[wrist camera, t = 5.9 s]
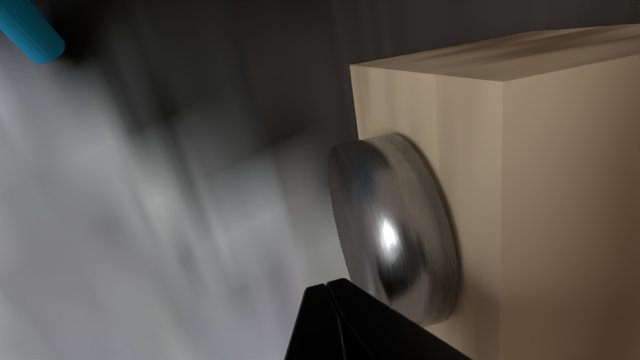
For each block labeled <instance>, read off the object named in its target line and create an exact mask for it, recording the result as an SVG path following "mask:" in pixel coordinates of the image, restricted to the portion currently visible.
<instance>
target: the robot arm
mask: <svg viewBox="0 0 640 360" xmlns="http://www.w3.org/2000/svg"><path fill="white" fill-rule="evenodd" d="M284 360H473V359H471V358H470V357H468V356H467V355H465V354H463V353H462V352H460V351H459V350H457V349H456V348H454V347H452V346H451V345H449V344H448V343H446V342H445V341H443V340H441V339H440V338H438V337H437V336H435V335H434V334H432V333H430V332H429V331H427V330H426V329H424V328H423V327H421V326H420V325H418V324H416V323H415V322H413V321H412V320H410V319H409V318H407V317H405V316H404V315H402V314H401V313H399V312H398V311H396V310H394V309H393V308H391V307H390V306H388V305H387V304H385V303H383V302H382V301H380V300H379V299H377V298H376V297H374V296H372V295H371V294H369V293H368V292H366V291H365V290H363V289H362V288H360V287H358V286H357V285H355V284H354V283H352V282H351V281H349V280H347V279H346V278H340V279H337V280H333V281H329V282H327V283H326V285H325V284H318V285H314V286H310V287H307V288H306V289H305V291H304V295H303V298H302V302H301V305H300V308H299V312H298V315H297V318H296V322H295V325H294V328H293V332H292V335H291V339H290V342H289V345H288V349H287V352H286V355H285V359H284Z"/></svg>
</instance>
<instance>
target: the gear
mask: <svg viewBox="0 0 640 360" xmlns="http://www.w3.org/2000/svg"><path fill="white" fill-rule="evenodd" d="M0 30H1V31H2V32H3V33H4V34H5V35H6V36H7V37H8V38H9V39H10V40H11V41H12V42H13V43H14V44H15V45H16V46H17V47H18V48H19V49H20V50H21V51H22V52H23V53H24V54H25V55H26V56H27V57H28V58H29V59H30V60H32V61H33V62H36V63H47V62H50V61H53V60H55V59H56V58H58V57H59V56H60V55H61V54H62V53H63V51H64V49H65V43H64V41H63V40H62V38H61V37H60V36H59V35H58V34H57V32H56V31H55V30H54V29H53V28H52V26H51V25H50V24H49V23H48V22H47V20H46V19H45V18H44V17H43V16H42V14H41V13H40V12H39V11H38V10H37V8H36V7H35V6H34V5H33V4H32V2H31V1H30V0H0Z"/></svg>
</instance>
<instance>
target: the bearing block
mask: <svg viewBox="0 0 640 360" xmlns="http://www.w3.org/2000/svg"><path fill="white" fill-rule="evenodd" d="M350 73H351V81H352V89H353V97H354V105H355V112H356V120H357V128H358V136H359V140H362V139H367V138H372V137H376V136H381V135H386V134H396V135H399V136H400V137H402V138H403V139H405V140H406V141H407V142H408V143H409V144H410V145H411V146H412V147H413V148H414V150H415V151H416V152H417V153H418V155H419V156H420V158H421V159H422V161H423V162H424V164H425V166H426V168H427V170H428V171H429V173H430V175H431V177H432V180H433V182H434V184H435V186H436V188H437V190H438V191H439V192H440V194H441V201H442V204H443V207H444V210H445V213H446V216H447V219H448V223H449V226H450V230H451V234H452V238H453V243H454V248H455V254H456V261H457V272H458V293H457V302H456V305H455V309H454V311H453V313H452V315H451V317H450V318H449V319H448V320H446V321H444V322H441V323H438V324H434V325H431V326H428V327H424V329H426V330H427V331H429V332H430V333H432V334H434V335H435V336H437V337H438V338H440V339H441V340H443V341H445V342H446V343H448V344H449V345H451V346H452V347H454V348H456V349H457V350H459V351H460V352H462V353H463V354H465V355H467V356H468V357H470V358H471V359H473V360H640V24H629V25H615V26H601V27H588V28H574V29H561V30H547V31H534V32H526V33H521V34H516V35H510V36H505V37H499V38H494V39H488V40H483V41H478V42H472V43H467V44H461V45H456V46H450V47H445V48H440V49H434V50H429V51H423V52H418V53H413V54H407V55H402V56H396V57H391V58H385V59H380V60H375V61H369V62H364V63H358V64H353V65H350Z"/></svg>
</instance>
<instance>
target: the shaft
mask: <svg viewBox="0 0 640 360" xmlns="http://www.w3.org/2000/svg"><path fill="white" fill-rule="evenodd" d="M328 176H329V187H330V195H331V201H332V207H333V213H334V218H335V223H336V227H337V232H338V236H339V240H340V244H341V248H342V252H343V255H344V259H345V262H346V266H347V269H348V272H349V275H350V278H351V281H352V283H354V284H355V285H357V286H358V287H360V288H362V289H363V290H365V291H366V292H368V293H369V294H371V295H372V296H374V297H376V298H377V299H379V300H380V301H382V302H383V303H385V304H387V305H388V306H390V307H391V308H393V309H394V310H396V311H398V312H399V313H401V314H402V315H404V316H405V317H407V318H409V319H410V320H412V321H413V322H415V323H416V324H418V325H420V326H421V327H423V328H424V327H428V326H431V325H434V324H438V323H441V322H444V321H446V320H448V319H449V318H450V317H451V315H452V313H453V311H454V309H455V305H456V302H457V293H458V272H457V261H456V254H455V248H454V243H453V238H452V234H451V230H450V226H449V223H448V219H447V216H446V213H445V210H444V207H443V204H442V201H441V194H440V192H439V191H438V190H437V188H436V186H435V184H434V182H433V180H432V177H431V175H430V173H429V171H428V170H427V168H426V166H425V164H424V162H423V161H422V159H421V158H420V156H419V155H418V153H417V152H416V151H415V150H414V148H413V147H412V146H411V145H410V144H409V143H408V142H407V141H406V140H405V139H403V138H402V137H400V136H399V135H396V134H386V135H381V136H376V137H372V138H367V139H362V140H358V141H353V142H348V143H344V144H339V145H334V146H332V148H331V149H330V152H329V158H328Z"/></svg>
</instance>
